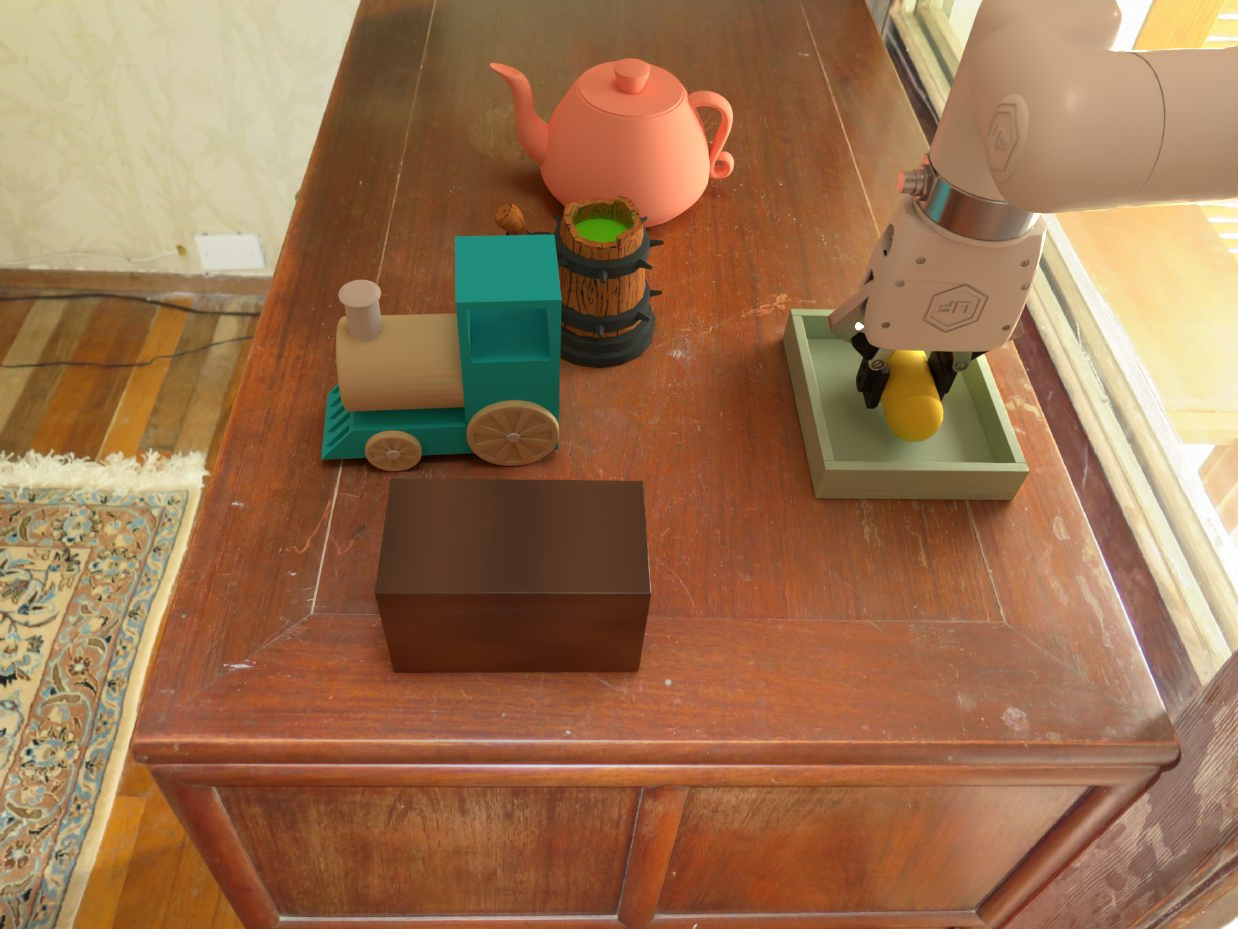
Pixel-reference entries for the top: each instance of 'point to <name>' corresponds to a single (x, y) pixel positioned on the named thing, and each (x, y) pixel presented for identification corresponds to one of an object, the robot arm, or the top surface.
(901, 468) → the tray
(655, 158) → the teapot
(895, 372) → the yellow capsule toy
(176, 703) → the top surface
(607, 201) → the mug
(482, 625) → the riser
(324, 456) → the toy train
